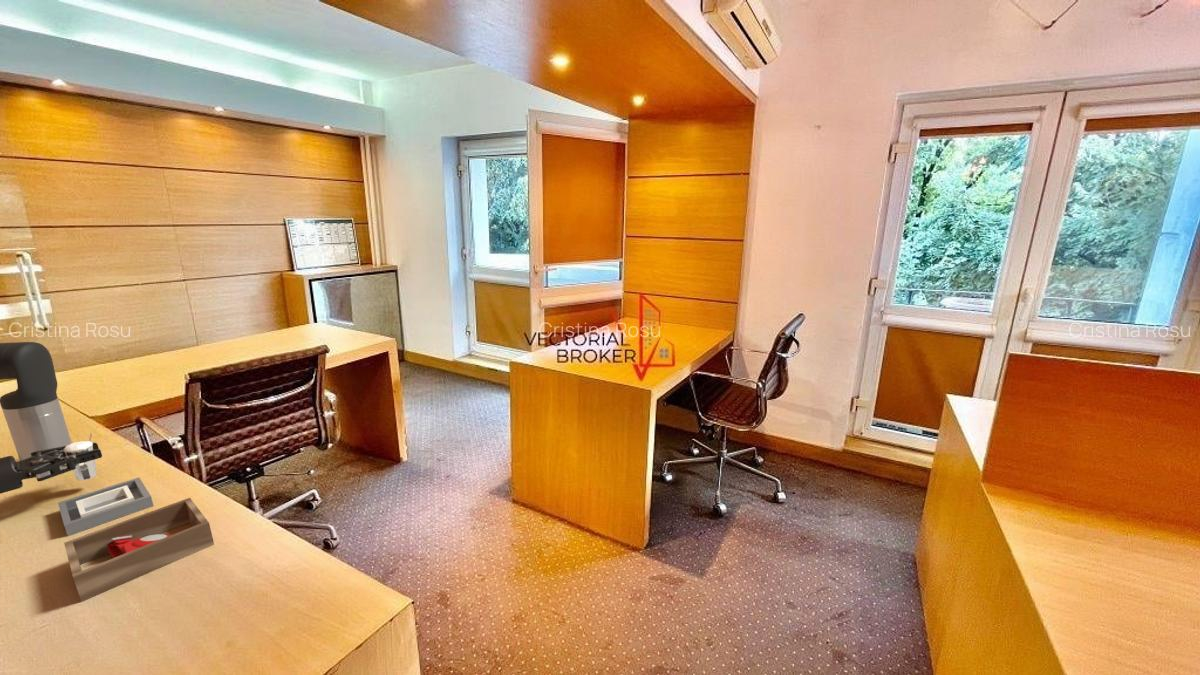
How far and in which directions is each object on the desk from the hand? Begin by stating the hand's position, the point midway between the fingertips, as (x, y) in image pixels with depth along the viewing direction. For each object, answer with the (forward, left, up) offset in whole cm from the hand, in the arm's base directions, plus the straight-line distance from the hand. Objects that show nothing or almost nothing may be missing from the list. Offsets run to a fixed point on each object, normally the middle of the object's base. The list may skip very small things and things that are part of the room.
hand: (99, 449), depth 110 cm
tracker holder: (+41, 0, -9) cm, 42 cm away
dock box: (+15, -2, -9) cm, 18 cm away
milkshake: (0, -3, -6) cm, 7 cm away
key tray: (+41, 0, -9) cm, 42 cm away
